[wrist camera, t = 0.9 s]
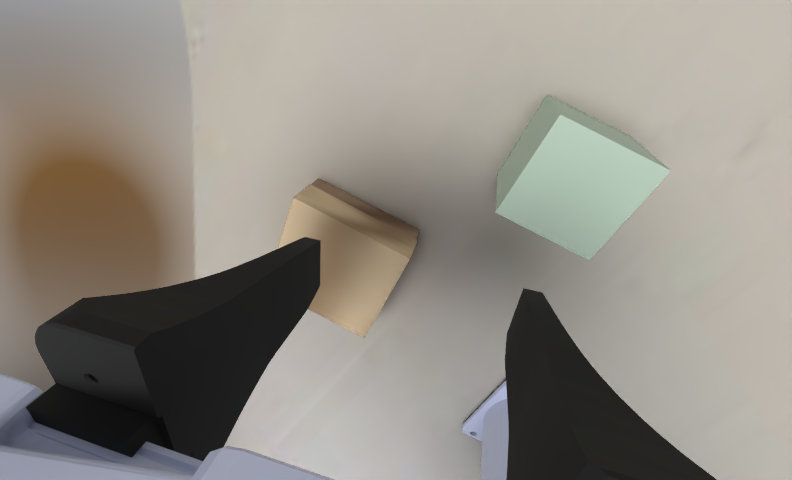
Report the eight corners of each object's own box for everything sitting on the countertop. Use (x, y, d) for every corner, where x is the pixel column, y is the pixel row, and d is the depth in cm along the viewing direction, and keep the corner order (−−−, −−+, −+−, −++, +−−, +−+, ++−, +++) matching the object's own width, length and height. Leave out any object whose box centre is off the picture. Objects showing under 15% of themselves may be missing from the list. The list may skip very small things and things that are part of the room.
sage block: (631, 137, 18) (671, 171, 14) (571, 212, 20) (589, 260, 16) (547, 94, 18) (560, 114, 14) (497, 174, 20) (495, 212, 16)
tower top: (417, 240, 22) (410, 258, 20) (373, 317, 25) (364, 338, 24) (310, 184, 22) (293, 197, 20) (281, 269, 25) (265, 286, 24)
